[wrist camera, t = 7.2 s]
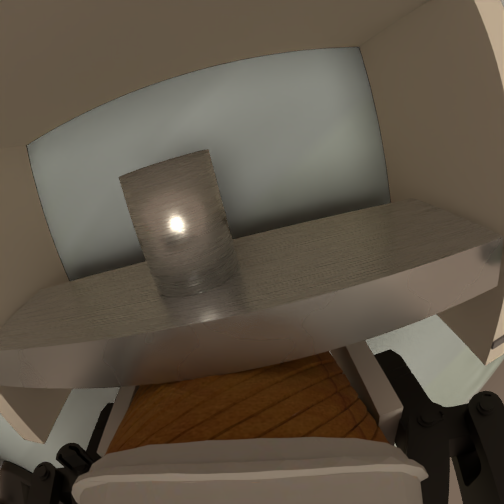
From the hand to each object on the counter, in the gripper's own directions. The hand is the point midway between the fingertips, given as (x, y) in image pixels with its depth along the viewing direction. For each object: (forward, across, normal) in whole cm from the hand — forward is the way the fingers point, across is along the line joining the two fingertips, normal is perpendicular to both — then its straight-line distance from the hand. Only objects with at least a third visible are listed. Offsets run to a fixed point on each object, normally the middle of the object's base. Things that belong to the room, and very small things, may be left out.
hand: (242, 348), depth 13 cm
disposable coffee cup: (+2, 0, 0) cm, 2 cm away
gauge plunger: (-1, -1, -6) cm, 7 cm away
